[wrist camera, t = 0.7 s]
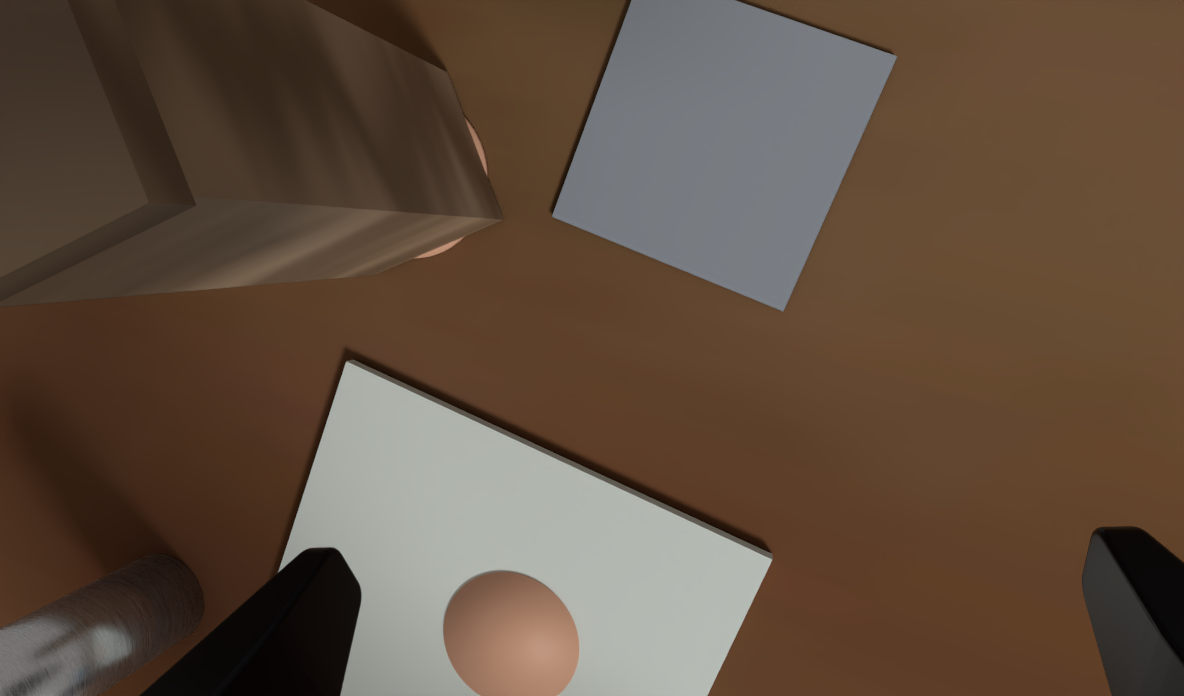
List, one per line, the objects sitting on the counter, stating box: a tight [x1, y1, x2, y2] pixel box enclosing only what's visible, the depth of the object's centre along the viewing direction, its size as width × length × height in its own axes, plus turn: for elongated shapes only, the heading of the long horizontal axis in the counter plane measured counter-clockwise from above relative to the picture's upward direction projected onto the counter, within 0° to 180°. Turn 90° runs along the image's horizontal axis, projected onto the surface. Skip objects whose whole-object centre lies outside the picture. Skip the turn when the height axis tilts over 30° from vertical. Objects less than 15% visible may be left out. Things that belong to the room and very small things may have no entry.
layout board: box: [278, 0, 897, 696], centre depth 23 cm, size 26×16×1 cm, turn 158°
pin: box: [0, 553, 204, 696], centre depth 24 cm, size 3×3×7 cm
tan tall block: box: [0, 0, 504, 307], centre depth 17 cm, size 5×5×14 cm
